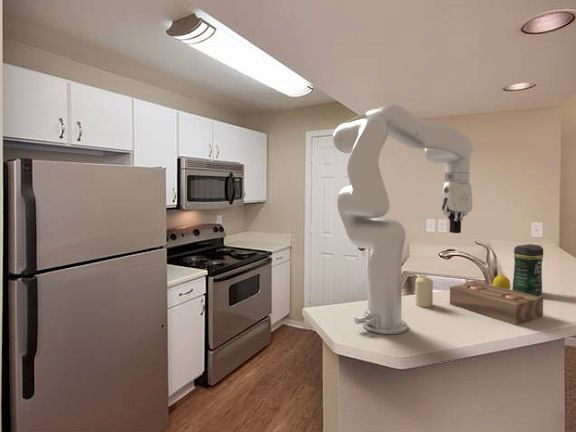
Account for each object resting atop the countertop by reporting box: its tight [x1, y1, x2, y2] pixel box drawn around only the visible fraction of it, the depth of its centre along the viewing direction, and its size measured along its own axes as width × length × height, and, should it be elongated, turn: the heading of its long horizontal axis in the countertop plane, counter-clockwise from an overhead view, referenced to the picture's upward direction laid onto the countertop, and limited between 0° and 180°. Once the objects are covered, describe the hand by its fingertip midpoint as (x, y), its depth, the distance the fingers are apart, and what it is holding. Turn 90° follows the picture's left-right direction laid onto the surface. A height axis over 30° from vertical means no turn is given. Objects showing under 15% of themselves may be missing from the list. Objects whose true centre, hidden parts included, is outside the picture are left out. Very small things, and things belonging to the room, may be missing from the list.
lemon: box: [492, 274, 511, 290], centre depth 128 cm, size 6×6×8 cm
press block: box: [449, 281, 544, 326], centre depth 113 cm, size 14×22×6 cm, turn 27°
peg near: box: [505, 295, 521, 300], centre depth 108 cm, size 4×4×6 cm
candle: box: [414, 275, 434, 308], centre depth 120 cm, size 6×6×10 cm
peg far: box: [470, 286, 483, 290], centre depth 119 cm, size 4×4×6 cm
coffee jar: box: [511, 243, 544, 296], centre depth 130 cm, size 10×8×19 cm
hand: (455, 232), depth 119 cm, fingers closed
